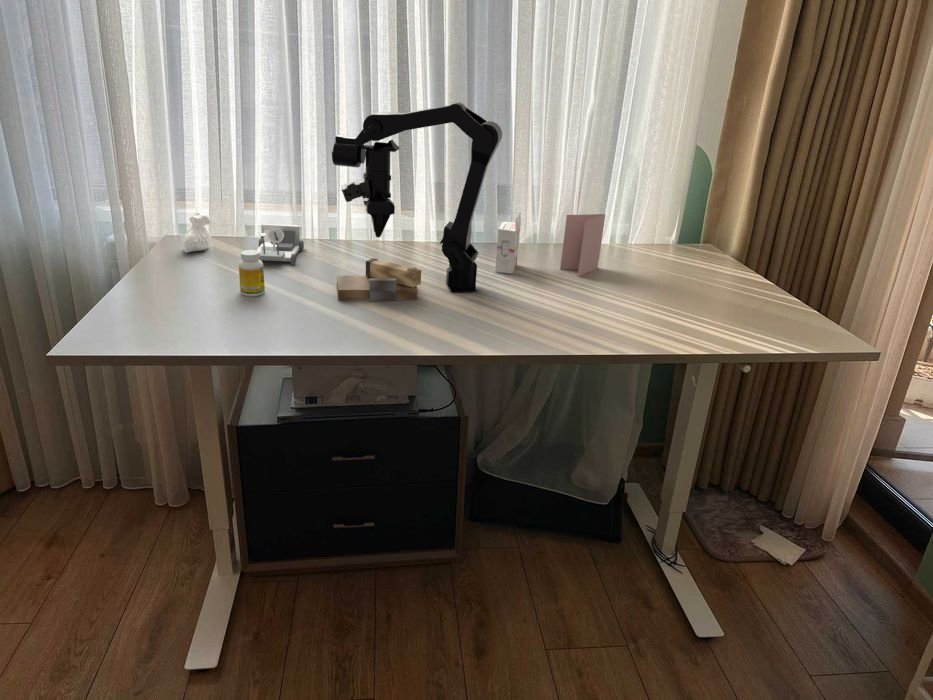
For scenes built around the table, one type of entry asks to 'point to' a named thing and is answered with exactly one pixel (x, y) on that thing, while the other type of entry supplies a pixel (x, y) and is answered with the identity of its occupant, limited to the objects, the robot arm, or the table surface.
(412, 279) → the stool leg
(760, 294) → the table surface
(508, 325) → the table surface
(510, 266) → the ink cartridge box
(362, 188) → the robot arm
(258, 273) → the supplement bottle
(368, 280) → the brown wooden block
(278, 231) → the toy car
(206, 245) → the white tied sack
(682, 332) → the table surface
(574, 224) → the greeting card
